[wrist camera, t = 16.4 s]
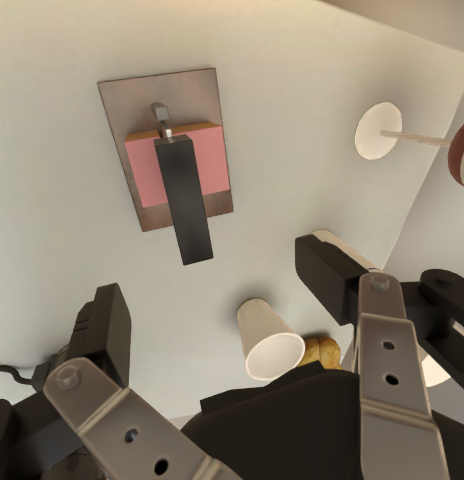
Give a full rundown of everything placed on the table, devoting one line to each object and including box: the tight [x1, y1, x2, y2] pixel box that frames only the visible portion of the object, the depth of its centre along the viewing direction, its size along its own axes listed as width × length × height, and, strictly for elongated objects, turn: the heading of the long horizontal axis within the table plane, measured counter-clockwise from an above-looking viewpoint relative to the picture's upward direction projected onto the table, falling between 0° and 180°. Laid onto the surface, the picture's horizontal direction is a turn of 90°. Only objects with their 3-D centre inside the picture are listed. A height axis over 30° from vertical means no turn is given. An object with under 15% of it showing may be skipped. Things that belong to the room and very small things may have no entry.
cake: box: [124, 121, 230, 208], centre depth 33 cm, size 10×7×6 cm
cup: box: [237, 299, 305, 380], centre depth 48 cm, size 10×10×11 cm
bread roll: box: [295, 337, 342, 370], centre depth 59 cm, size 13×10×8 cm
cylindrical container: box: [310, 230, 464, 387], centre depth 40 cm, size 7×7×25 cm
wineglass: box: [355, 102, 464, 186], centre depth 34 cm, size 9×10×22 cm
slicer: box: [97, 68, 233, 232], centre depth 31 cm, size 13×18×13 cm
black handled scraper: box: [153, 121, 213, 265], centre depth 25 cm, size 2×10×11 cm, turn 7°
